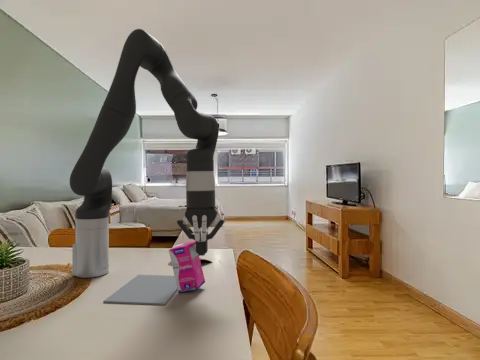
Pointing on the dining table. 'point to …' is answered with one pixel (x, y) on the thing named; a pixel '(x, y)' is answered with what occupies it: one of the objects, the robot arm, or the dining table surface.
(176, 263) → the supplement box
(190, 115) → the robot arm
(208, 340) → the dining table surface
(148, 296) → the rubber mat
